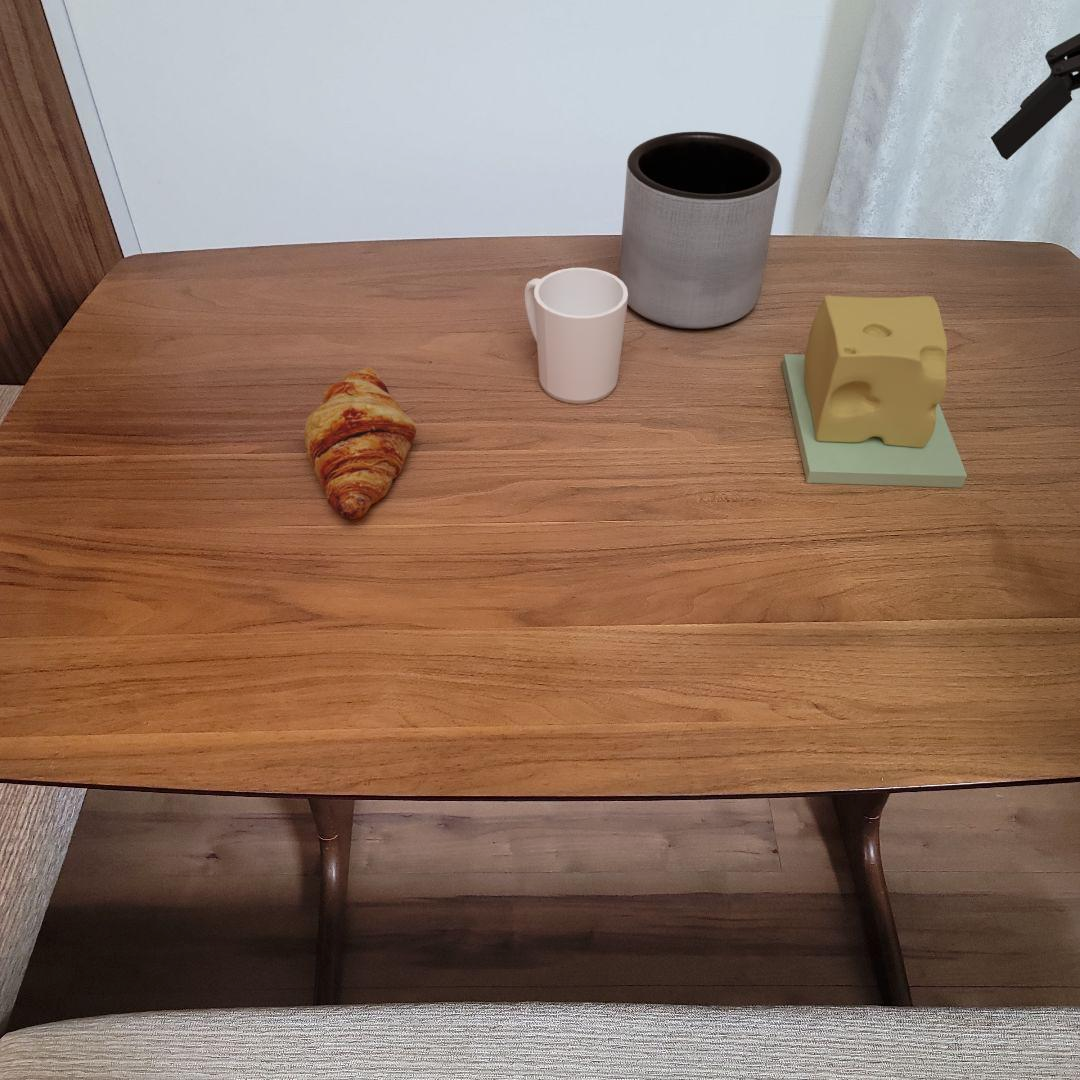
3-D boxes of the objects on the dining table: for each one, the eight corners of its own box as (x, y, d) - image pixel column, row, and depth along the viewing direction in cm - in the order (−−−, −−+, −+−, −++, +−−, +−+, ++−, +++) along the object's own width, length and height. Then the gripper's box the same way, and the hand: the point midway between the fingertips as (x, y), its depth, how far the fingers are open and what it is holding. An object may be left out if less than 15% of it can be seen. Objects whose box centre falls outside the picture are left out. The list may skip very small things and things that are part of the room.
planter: (634, 342, 100) (645, 204, 88) (604, 265, 111) (611, 134, 99) (777, 328, 101) (806, 192, 90) (734, 254, 112) (755, 124, 101)
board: (962, 488, 84) (967, 475, 83) (806, 483, 84) (809, 471, 83) (916, 369, 96) (921, 357, 95) (781, 365, 97) (783, 353, 96)
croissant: (345, 414, 97) (295, 359, 92) (426, 372, 94) (380, 313, 89) (331, 561, 82) (271, 505, 77) (427, 516, 79) (372, 455, 74)
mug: (638, 374, 96) (646, 286, 88) (590, 419, 91) (593, 329, 83) (551, 338, 100) (552, 251, 93) (501, 379, 95) (497, 291, 88)
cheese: (927, 450, 85) (962, 360, 78) (808, 444, 86) (832, 354, 79) (906, 382, 92) (937, 293, 85) (796, 377, 93) (818, 288, 86)
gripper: (1466, 49, 62) (1174, 283, 70) (1186, -50, 79) (975, 148, 87) (1464, -33, 57) (1149, 228, 65) (1165, -121, 74) (943, 96, 82)
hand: (1049, 183), depth 76 cm, fingers open, 13 cm apart
